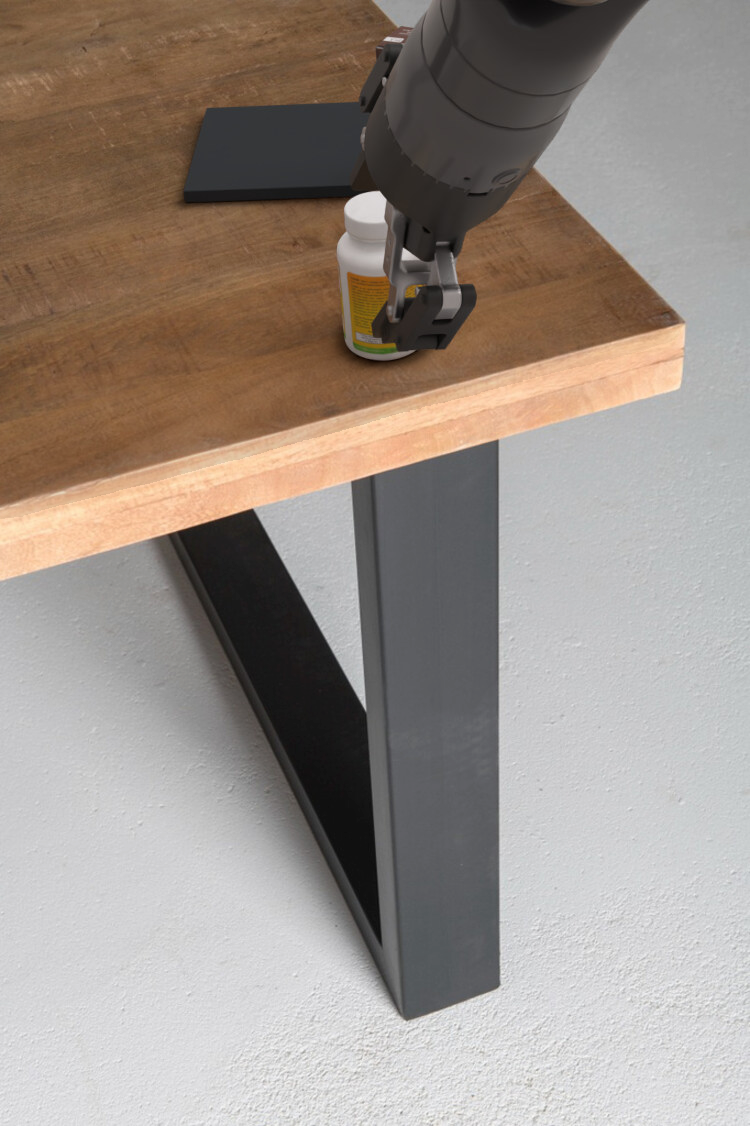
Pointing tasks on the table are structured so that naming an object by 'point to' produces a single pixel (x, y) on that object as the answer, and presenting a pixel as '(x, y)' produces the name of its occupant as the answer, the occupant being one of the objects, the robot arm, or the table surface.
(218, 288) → the table surface
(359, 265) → the supplement bottle
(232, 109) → the charcoal mat
